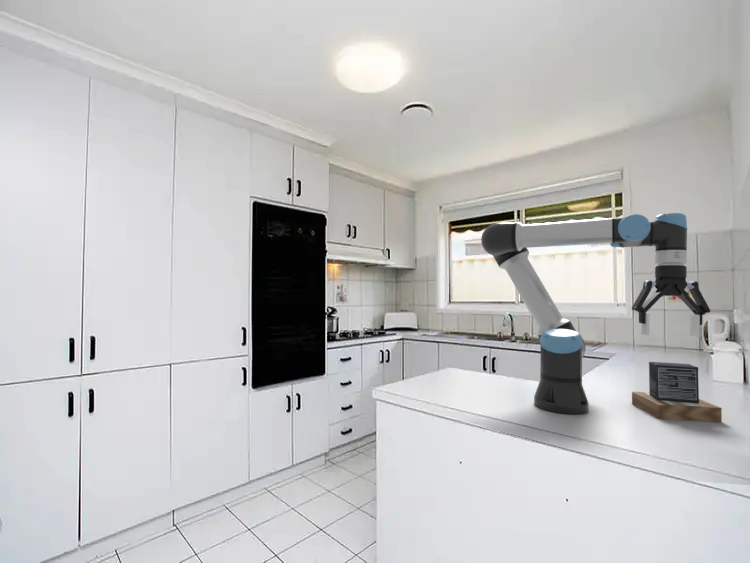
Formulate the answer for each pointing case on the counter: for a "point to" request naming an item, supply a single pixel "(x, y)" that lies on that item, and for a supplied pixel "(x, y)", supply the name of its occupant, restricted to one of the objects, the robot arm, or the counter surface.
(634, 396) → the wooden block
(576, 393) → the robot arm
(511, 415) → the counter surface
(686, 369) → the small box
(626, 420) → the counter surface
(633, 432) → the counter surface
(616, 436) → the counter surface
